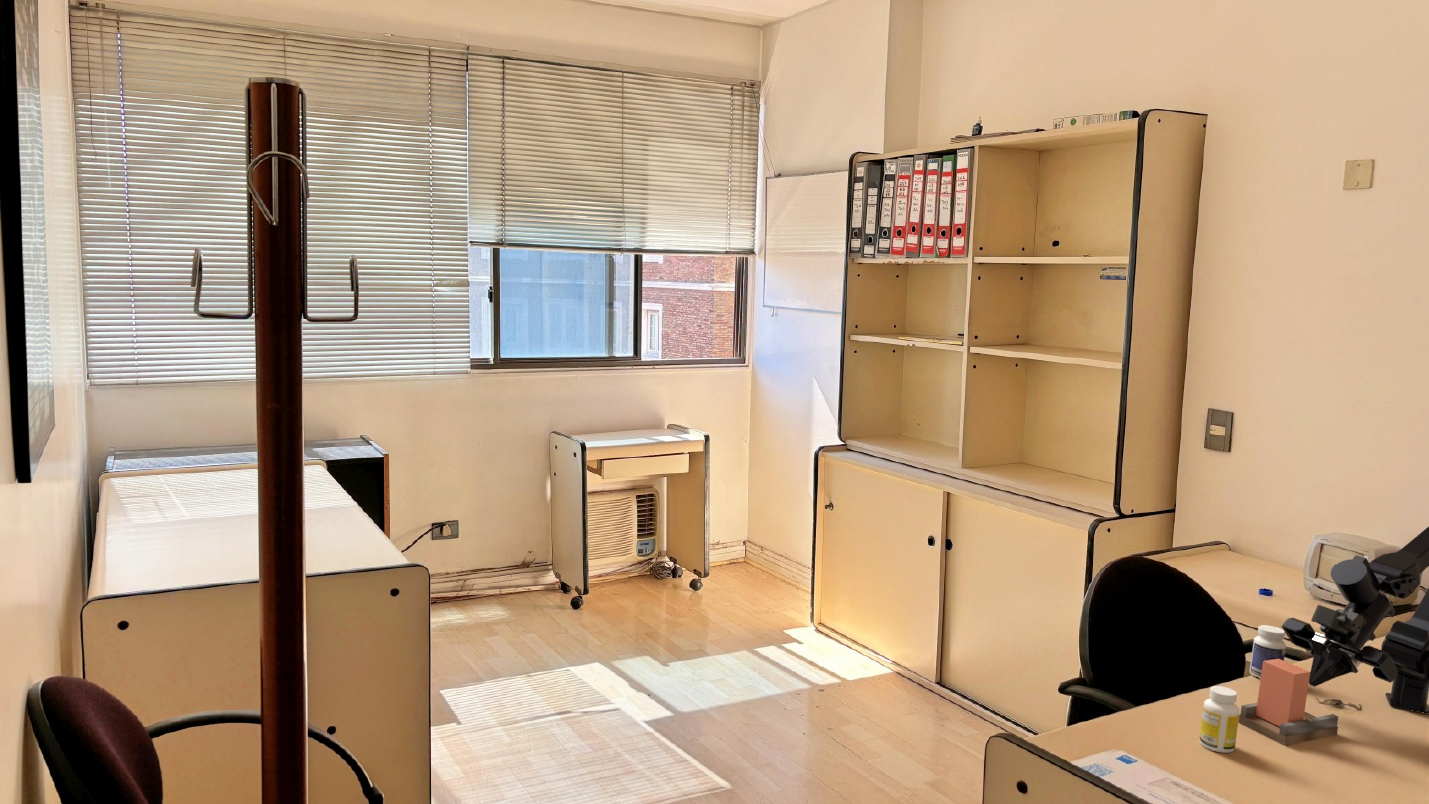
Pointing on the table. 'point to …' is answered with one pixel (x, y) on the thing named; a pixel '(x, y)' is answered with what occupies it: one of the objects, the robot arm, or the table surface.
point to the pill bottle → (1267, 648)
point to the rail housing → (1289, 726)
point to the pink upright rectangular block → (1282, 692)
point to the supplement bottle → (1220, 720)
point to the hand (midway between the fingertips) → (1311, 684)
